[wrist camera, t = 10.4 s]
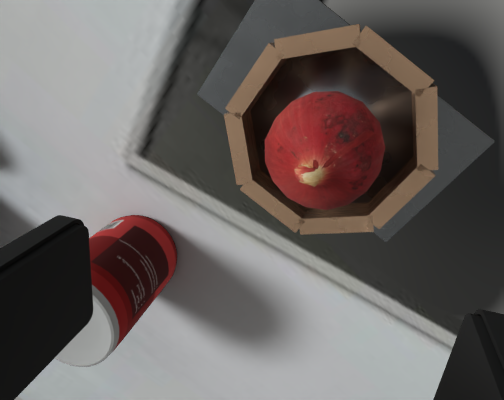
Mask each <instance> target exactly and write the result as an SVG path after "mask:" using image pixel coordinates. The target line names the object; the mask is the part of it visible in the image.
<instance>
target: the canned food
mask: <svg viewBox="0 0 504 400" xmlns="http://www.w3.org/2000/svg"><path fill="white" fill-rule="evenodd" d="M89 247H90V263H91V279H92V294H93V315H92V318H91V320H90V321H89V323H88V324H87V325H86V326H85V327H84V328H83V329H82V330H81V331H80V332H79V333H78V334H77V335H76V336H75V337H74V338H73V339H72V340H71V341H70V343H69V344H68V345H67V346H66V347H65V348H64V349H63V350H62V351H61V352H60V353H59V354H58V355H57V356H56V357H55V359H57V360H59V361H61V362H63V363H66V364H69V365H72V366H79V367H89V366H93V365H96V364H98V363H100V362H102V361H104V360H105V359H106V358H107V357H108V356H109V355H110V354H111V353H112V352H113V351H114V350H115V348H116V347H117V346H118V345H119V343H120V342H121V341H122V340H123V339H124V337H125V336H126V335H127V334H128V332H129V331H130V330H131V329H132V327H133V326H134V325H135V323H136V322H137V321H138V320H139V318H140V317H141V316H142V315H143V313H144V312H145V311H146V310H147V308H148V307H149V306H150V304H151V303H152V302H153V301H154V299H155V298H156V297H157V296H158V294H159V293H160V292H161V290H162V289H163V288H164V287H165V285H166V284H167V283H168V282H169V280H170V279H171V277H172V276H173V273H174V270H175V267H176V262H177V251H176V247H175V244H174V241H173V240H172V238H171V236H170V234H169V233H168V232H167V230H166V229H165V228H163V227H162V226H161V225H160V224H159V223H157V222H156V221H154V220H152V219H150V218H148V217H144V216H140V215H131V216H125V217H121V218H118V219H116V220H114V221H112V222H111V223H110V224H108V225H107V226H105V227H104V228H103V229H101V230H100V231H99V232H97V233H96V234H95V235H93V236H92V237H90V238H89Z"/></svg>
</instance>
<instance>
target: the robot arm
mask: <svg viewBox="0 0 504 400" xmlns="http://www.w3.org/2000/svg"><path fill="white" fill-rule="evenodd" d="M92 315H93V294H92V279H91V263H90V247H89V232H88V229H87V227H85V226H84V224H83V222H82V221H81V220H80V219H75V218H71V217H66V216H61V215H58V216H56V217H54V218H52V219H50V220H49V221H47V222H45V223H44V224H42V225H40V226H38V227H37V228H35V229H33V230H31V231H30V232H28V233H26V234H25V235H23V236H21V237H19V238H18V239H16V240H14V241H12V242H11V243H9V244H7V245H6V246H4V247H2V248H0V400H14V399H15V398H16V397H17V396H18V395H19V394H20V393H21V392H22V391H23V390H24V389H25V388H26V387H27V386H28V385H29V384H30V383H31V382H32V381H33V380H34V379H35V378H36V376H37V375H38V374H39V373H40V372H41V371H42V370H43V369H44V368H45V367H46V366H47V365H48V364H49V363H50V362H51V361H52V360H53V359H54V358H55V357H56V356H57V355H58V354H59V353H60V352H61V351H62V350H63V349H64V348H65V347H66V346H67V345H68V344H69V343H70V341H71V340H72V339H73V338H74V337H75V336H76V335H77V334H78V333H79V332H80V331H81V330H82V329H83V328H84V327H85V326H86V325H87V324H88V323H89V321H90V320H91V318H92ZM433 400H504V314H500V313H495V312H491V311H486V310H481V309H478V310H477V311H476V312H475V313H474V314H469V313H468V314H466V316H465V317H464V320H463V322H462V325H461V328H460V330H459V333H458V336H457V338H456V341H455V344H454V346H453V349H452V352H451V354H450V357H449V360H448V362H447V365H446V368H445V370H444V373H443V375H442V378H441V381H440V383H439V386H438V389H437V391H436V394H435V397H434V399H433Z"/></svg>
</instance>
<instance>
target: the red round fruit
mask: <svg viewBox="0 0 504 400" xmlns="http://www.w3.org/2000/svg"><path fill="white" fill-rule="evenodd" d="M384 151H385V144H384V140H383V135H382V130H381V126H380V122H379V121H378V120H377V119H376V117H375V116H374V115H373V114H372V113H371V111H370V110H369V109H368V108H367V107H366V105H365V104H364V103H363V102H362V101H359V100H357V99H355V98H353V97H351V96H348V95H346V94H344V93H342V92H339V91H327V92H312V93H310V94H308V95H305V96H303V97H301V98H298V99H296V100H294V101H292V102H291V103H290V104H289V105H288V106H287V107H286V108H285V109H284V110H283V111H282V112H281V113H280V114H279V115H278V116H277V117H276V118H275V120H274V122H273V124H272V126H271V128H270V130H269V133H268V135H267V137H266V139H265V163H266V166H267V168H268V171H269V173H270V175H271V178H272V180H273V182H274V183H275V184H276V185H277V186H278V188H279V189H280V190H281V191H282V192H283V193H284V194H285V195H286V197H287V198H289V199H291V200H293V201H295V202H297V203H299V204H301V205H303V206H304V207H308V208H315V209H323V210H329V209H333V208H337V207H341V206H345V205H348V204H350V203H351V202H353V201H354V200H355V199H357V198H358V197H360V196H361V195H362V194H364V193H365V192H367V191H368V189H369V188H370V186H371V185H372V183H373V182H374V181H375V179H376V178H377V176H378V175H379V173H380V171H381V166H382V161H383V156H384Z"/></svg>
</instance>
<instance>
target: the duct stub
mask: <svg viewBox="0 0 504 400" xmlns="http://www.w3.org/2000/svg"><path fill="white" fill-rule="evenodd" d="M433 81H434V80H433V79H432V78H431V77H429V76H428V75H427V74H426V73H424V72H423V71H422V70H421V69H419V68H418V67H417V66H416V65H414V64H413V63H412V62H411V61H410V60H408V59H407V58H406V57H404V56H403V55H402V54H401V53H400V52H398V51H397V50H396V49H395V48H393V47H392V46H391V45H390V44H388V43H387V42H386V41H385V40H383V39H382V38H381V37H379V36H378V35H377V34H376V33H375V32H373V31H372V30H371V29H370V28H368V27H367V26H365V28H364V29H363V30H362V32H360V24H356V25H349V24H348V23H347V22H346V21H345V20H343V19H342V18H341V17H340V16H338V15H337V14H336V13H334V12H333V11H332V10H331V9H329V8H328V7H327V6H326V5H325V4H323V3H322V2H321V1H320V0H255V1H254V3H253V4H252V6H251V7H250V9H249V11H248V12H247V14H246V16H245V17H244V19H243V20H242V22H241V24H240V25H239V27H238V29H237V30H236V32H235V33H234V35H233V37H232V38H231V40H230V41H229V43H228V45H227V46H226V48H225V50H224V51H223V53H222V54H221V56H220V58H219V59H218V61H217V63H216V64H215V66H214V67H213V69H212V71H211V72H210V74H209V76H208V77H207V79H206V80H205V82H204V84H203V85H202V87H201V88H200V90H199V92H198V93H197V95H199V96H200V97H201V98H202V99H204V100H205V101H206V102H208V103H209V104H210V105H211V106H213V107H214V108H215V109H216V110H218V111H219V112H220V113H222V114H223V115H224V118H225V123H226V129H227V134H228V139H229V145H230V150H231V156H232V161H233V167H234V172H235V177H236V183H237V185H242V184H244V185H243V186H242V187H241V189H240V190H241V191H242V192H244V193H245V194H246V195H247V196H249V197H250V198H251V199H253V200H254V201H255V202H256V203H258V204H259V205H260V206H262V207H263V208H264V209H265V210H267V211H268V212H269V213H271V214H272V215H273V216H274V217H276V218H277V219H278V220H280V221H281V222H282V223H283V224H285V225H286V226H287V227H289V228H290V229H291V230H292V231H294V232H296V231H297V230H298V229H299V228H300V234H324V233H352V232H373V233H375V234H376V235H377V236H378V237H380V238H381V239H382V240H384V241H385V242H387V241H388V240H389V239H390V238H392V237H393V236H394V235H395V234H396V233H397V232H398V231H399V230H400V229H401V228H402V227H403V226H404V225H406V224H407V223H408V222H409V221H410V220H411V219H412V218H413V217H414V216H415V215H416V214H417V213H418V212H420V211H421V210H422V209H423V208H424V207H425V206H426V205H427V204H428V203H429V202H430V201H431V200H432V199H434V198H435V197H436V196H437V195H438V194H439V193H440V192H441V191H442V190H443V189H444V188H445V187H446V186H448V185H449V184H450V183H451V182H452V181H453V180H454V179H455V178H456V177H457V176H458V175H459V174H460V173H462V172H463V171H464V170H465V169H466V168H467V167H468V166H469V165H470V164H471V163H472V162H473V161H474V160H476V159H477V158H478V157H479V156H480V155H481V154H482V153H483V152H484V151H485V150H486V149H487V148H489V147H490V146H491V145H492V144H493V143H494V142H495V141H494V140H493V139H492V138H491V137H489V136H488V135H487V134H486V133H484V132H483V131H482V130H480V129H479V128H478V127H477V126H475V125H474V124H473V123H472V122H471V121H469V120H468V119H467V118H466V117H464V116H463V115H462V114H461V113H459V112H458V111H457V110H456V109H454V108H453V107H452V106H451V105H449V104H448V103H447V102H446V101H444V100H443V99H442V98H440V97H439V96H438V95H437V86H436V85H434V84H433ZM327 91H339V92H342V93H344V94H346V95H348V96H351V97H353V98H355V99H357V100H359V101H362V102H363V103H364V104H365V105H366V107H367V108H368V109H369V110H370V111H371V113H372V114H373V115H374V116H375V117H376V119H377V120H378V121H379V122H380V126H381V130H382V135H383V140H384V144H385V151H384V156H383V161H382V166H381V171H380V173H379V175H378V176H377V178H376V179H375V181H374V182H373V183H372V185H371V186H370V188H369V189H368V191H367V192H365V193H364V194H362V195H361V196H360V197H358V198H357V199H355V200H354V201H353V202H351V203H350V204H348V205H345V206H341V207H337V208H333V209H329V210H323V209H315V208H308V207H304V206H303V205H301V204H299V203H297V202H295V201H293V200H291V199H289V198H287V197H286V195H285V194H284V193H283V192H282V191H281V190H280V189H279V188H278V186H277V185H276V184H275V183H274V182H273V180H272V178H271V175H270V173H269V171H268V168H267V166H266V163H265V139H266V137H267V135H268V133H269V130H270V128H271V126H272V124H273V122H274V120H275V118H276V117H277V116H278V115H279V114H280V113H281V112H282V111H283V110H284V109H285V108H286V107H287V106H288V105H289V104H290V103H291V102H292V101H294V100H296V99H298V98H301V97H303V96H305V95H308V94H310V93H312V92H327Z"/></svg>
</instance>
